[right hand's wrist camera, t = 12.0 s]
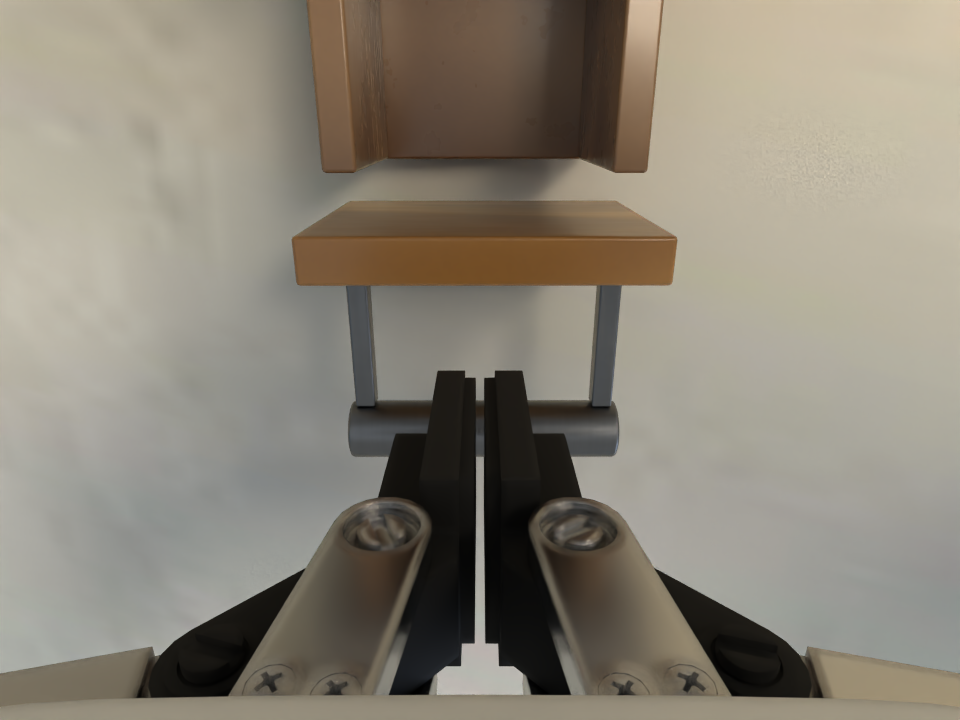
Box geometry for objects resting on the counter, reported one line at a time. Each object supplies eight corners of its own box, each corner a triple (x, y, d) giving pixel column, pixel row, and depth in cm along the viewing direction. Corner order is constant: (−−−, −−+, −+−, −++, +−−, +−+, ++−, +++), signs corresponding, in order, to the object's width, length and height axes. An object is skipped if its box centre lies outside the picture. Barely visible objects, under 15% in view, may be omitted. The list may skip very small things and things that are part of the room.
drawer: (601, 398, 23) (647, 502, 17) (363, 398, 23) (320, 502, 17) (668, -433, 15) (807, -837, 9) (299, -433, 15) (166, -838, 9)
